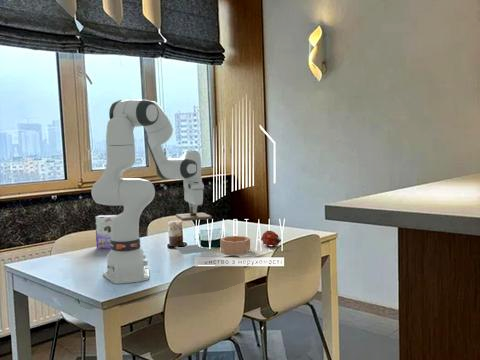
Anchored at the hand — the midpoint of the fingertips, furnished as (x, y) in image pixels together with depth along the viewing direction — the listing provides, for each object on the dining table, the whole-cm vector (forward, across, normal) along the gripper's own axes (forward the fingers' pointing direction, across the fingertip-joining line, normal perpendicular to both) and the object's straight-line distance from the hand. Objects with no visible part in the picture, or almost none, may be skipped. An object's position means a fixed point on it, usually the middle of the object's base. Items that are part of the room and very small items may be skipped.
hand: (193, 212), depth 239 cm
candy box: (+19, -22, -37) cm, 47 cm away
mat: (+18, 0, 0) cm, 19 cm away
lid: (+3, 0, 0) cm, 3 cm away
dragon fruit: (+19, +10, +37) cm, 43 cm away
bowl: (+18, +12, +17) cm, 28 cm away
